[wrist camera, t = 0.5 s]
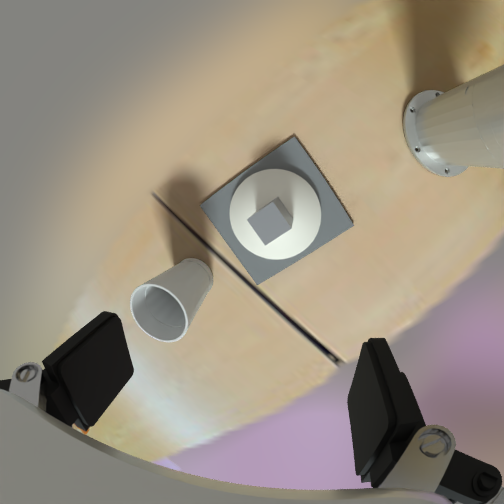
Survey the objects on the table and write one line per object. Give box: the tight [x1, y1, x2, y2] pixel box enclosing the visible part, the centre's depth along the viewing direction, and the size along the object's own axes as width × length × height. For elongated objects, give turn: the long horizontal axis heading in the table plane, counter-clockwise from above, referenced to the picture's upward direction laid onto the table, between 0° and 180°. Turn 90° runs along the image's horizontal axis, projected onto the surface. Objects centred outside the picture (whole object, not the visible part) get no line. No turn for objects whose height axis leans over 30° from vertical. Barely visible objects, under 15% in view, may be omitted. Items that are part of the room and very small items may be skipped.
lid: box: [230, 169, 321, 260], centre depth 33 cm, size 12×12×7 cm
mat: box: [200, 137, 354, 285], centre depth 36 cm, size 16×14×1 cm
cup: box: [130, 258, 213, 342], centre depth 36 cm, size 8×8×12 cm
